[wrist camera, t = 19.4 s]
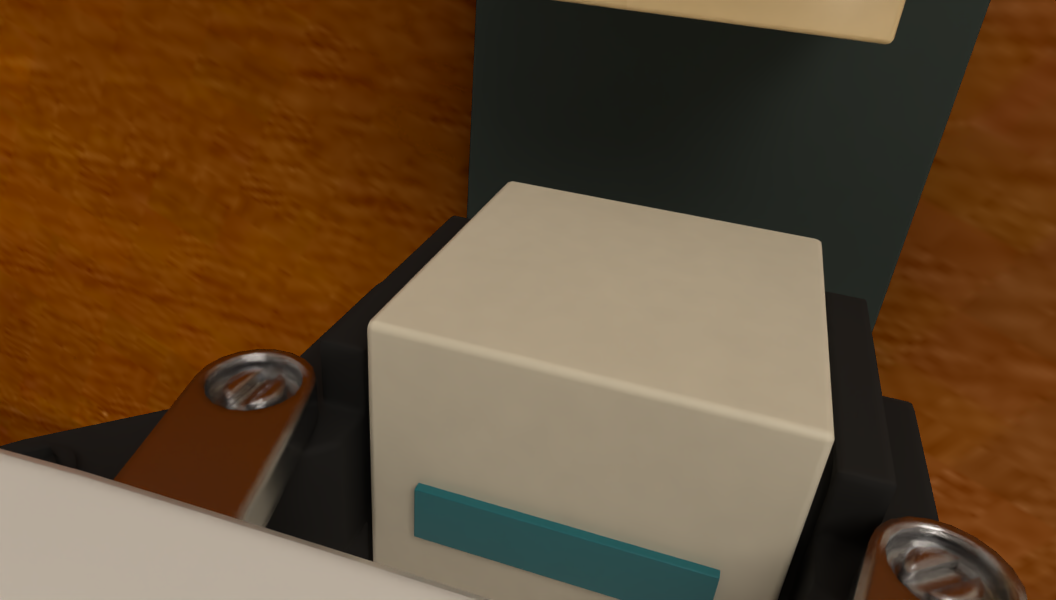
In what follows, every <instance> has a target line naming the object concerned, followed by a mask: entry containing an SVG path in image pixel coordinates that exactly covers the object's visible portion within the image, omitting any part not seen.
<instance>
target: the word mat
mask: <svg viewBox="0 0 1056 600" xmlns="http://www.w3.org/2000/svg"><path fill="white" fill-rule="evenodd" d="M989 3H990V0H906V1H905V5H904V8H903V11H902V14H901V18H900V21H899V24H898V28H897V31H896V34H895V37H894V40H893V41H892V42H891V43H889V44H878V43H870V42H863V41H855V40H848V39H840V38H833V37H825V36H818V35H810V34H803V33H795V32H788V31H780V30H773V29H765V28H758V27H750V26H743V25H735V24H728V23H720V22H713V21H705V20H698V19H690V18H683V17H675V16H668V15H660V14H653V13H645V12H638V11H630V10H623V9H615V8H608V7H600V6H593V5H585V4H578V3H570V2H563V1H555V0H476V23H475V46H474V69H473V91H472V114H471V137H470V160H469V182H468V205H467V218H469V219H472V218H473V217H474V216H475V215H476V214H477V213H478V212H479V211H480V210H481V209H482V208H483V207H484V206H485V205H486V204H487V203H488V202H489V201H490V200H491V199H492V198H493V197H494V196H495V195H496V194H497V193H498V192H499V191H500V190H501V189H502V188H503V187H504V186H505V185H506V184H507V183H508V182H512V181H514V182H519V183H524V184H529V185H535V186H540V187H545V188H551V189H556V190H561V191H566V192H572V193H577V194H582V195H587V196H593V197H598V198H603V199H608V200H614V201H619V202H624V203H629V204H635V205H640V206H645V207H651V208H656V209H661V210H666V211H672V212H677V213H682V214H687V215H693V216H698V217H703V218H708V219H714V220H719V221H724V222H729V223H735V224H740V225H745V226H751V227H756V228H761V229H766V230H772V231H777V232H782V233H787V234H793V235H798V236H803V237H808V238H814V239H817V240H819V241H820V242H821V245H822V256H823V272H824V287H825V291H826V292H831V293H836V294H841V295H846V296H851V297H856V298H860V299H865V300H866V302H867V307H868V313H869V319H870V325H871V331H873V328H874V325H875V322H876V320H877V317H878V314H879V311H880V308H881V306H882V303H883V300H884V297H885V294H886V292H887V289H888V286H889V283H890V280H891V278H892V275H893V272H894V269H895V266H896V264H897V261H898V258H899V255H900V252H901V250H902V247H903V244H904V241H905V238H906V236H907V233H908V230H909V227H910V224H911V222H912V219H913V216H914V213H915V210H916V207H917V205H918V202H919V199H920V196H921V193H922V191H923V188H924V185H925V182H926V179H927V177H928V174H929V171H930V168H931V165H932V163H933V160H934V157H935V154H936V151H937V149H938V146H939V143H940V140H941V137H942V135H943V132H944V129H945V126H946V123H947V121H948V118H949V115H950V112H951V109H952V107H953V104H954V101H955V98H956V95H957V93H958V90H959V87H960V84H961V81H962V79H963V76H964V73H965V70H966V67H967V65H968V62H969V59H970V56H971V53H972V51H973V48H974V45H975V42H976V39H977V37H978V34H979V31H980V28H981V25H982V23H983V20H984V17H985V14H986V11H987V8H988V6H989Z"/></svg>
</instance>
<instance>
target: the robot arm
mask: <svg viewBox="0 0 1056 600" xmlns="http://www.w3.org/2000/svg"><path fill="white" fill-rule="evenodd" d="M470 220H471V219H469V218H464V217H459V216H453V217H451V218H450V219H449V220H448V221H447V222H446V223H444V224H443V225H442V226H441V227H440V228H439V229H438V230H437V231H436V232H435V233H434V234H433V235H432V236H431V237H430V238H428V239H427V240H426V241H425V242H424V243H423V244H422V245H421V246H420V247H419V248H418V249H417V250H416V251H415V252H414V253H412V254H411V255H410V256H409V257H408V258H407V259H406V260H405V261H404V262H403V263H402V264H401V265H400V266H399V267H398V268H396V269H395V270H394V271H393V272H392V273H391V274H390V275H389V276H388V277H387V278H386V279H385V280H384V281H383V282H381V283H379V284H378V285H376V286H375V287H374V288H373V289H372V290H371V291H370V292H369V293H367V294H366V295H365V296H364V297H363V298H362V299H361V300H360V301H359V302H358V303H357V304H356V305H355V306H354V307H352V308H351V309H350V310H349V311H348V312H347V313H346V314H345V315H344V316H343V317H342V318H341V319H340V320H339V321H337V322H336V323H335V324H334V325H333V326H332V327H331V328H330V329H329V330H328V331H327V332H326V333H325V334H323V335H322V336H321V337H320V338H319V339H318V340H317V341H316V342H315V343H314V344H313V345H312V346H311V347H310V348H308V349H307V350H306V351H305V352H304V353H303V354H302V355H301V356H300V357H299V356H297V355H295V354H293V353H290V352H285V351H280V350H275V349H255V350H248V351H241V352H237V353H234V354H231V355H227V356H224V357H221V358H219V359H218V360H216V361H214V362H212V363H210V364H208V365H206V366H205V367H204V368H203V369H202V370H201V371H200V372H199V373H198V374H197V375H196V376H195V377H194V378H193V379H192V381H191V382H190V383H189V384H188V386H187V387H186V388H185V390H184V391H183V392H182V393H181V395H180V396H179V397H178V398H177V400H176V401H175V402H174V404H173V405H172V406H171V407H170V409H168V410H163V411H158V412H153V413H149V414H144V415H139V416H134V417H129V418H125V419H120V420H115V421H110V422H106V423H101V424H96V425H91V426H87V427H82V428H77V429H72V430H68V431H63V432H58V433H53V434H48V435H44V436H39V437H34V438H29V439H25V440H21V441H17V442H14V443H10V444H7V445H3V446H0V600H492V599H489V598H485V597H482V596H479V595H476V594H473V593H470V592H467V591H464V590H460V589H457V588H454V587H451V586H448V585H445V584H442V583H439V582H435V581H432V580H429V579H426V578H423V577H420V576H417V575H413V574H410V573H407V572H404V571H401V570H398V569H395V568H391V567H388V566H385V565H382V564H379V563H376V562H373V534H372V495H371V456H370V416H369V377H368V338H367V328H368V324H369V322H370V320H371V319H372V318H373V317H374V316H375V315H376V314H377V313H378V312H379V311H380V310H381V309H382V308H383V307H384V306H385V305H386V304H387V303H388V302H389V301H390V300H391V299H392V298H393V297H394V296H395V295H396V294H397V293H398V292H399V291H400V290H401V289H402V288H403V287H404V286H405V285H406V284H407V283H408V282H409V281H410V280H411V279H412V278H413V277H414V276H415V275H416V274H417V273H418V272H419V271H420V270H421V269H422V268H423V267H424V266H425V265H426V264H427V263H428V262H429V261H430V260H431V259H432V258H433V257H434V256H435V255H436V254H437V253H438V252H439V251H440V250H441V249H442V248H443V247H444V246H445V245H446V244H447V243H448V242H449V241H450V240H451V239H452V238H453V237H454V236H455V235H456V234H457V233H458V232H459V231H460V230H461V229H462V228H463V227H464V226H465V225H466V224H467V223H468V222H469V221H470ZM825 302H826V317H827V332H828V347H829V362H830V378H831V393H832V408H833V423H834V438H835V440H834V443H833V445H832V448H831V451H830V454H829V457H828V459H827V462H826V465H825V468H824V471H823V473H822V476H821V479H820V482H819V485H818V487H817V490H816V493H815V496H814V499H813V502H812V504H811V507H810V510H809V513H808V516H807V518H806V521H805V524H804V527H803V530H802V532H801V535H800V538H799V541H798V544H797V546H796V549H795V552H794V555H793V558H792V560H791V563H790V566H789V569H788V572H787V575H786V577H785V580H784V583H783V586H782V589H781V591H780V594H779V597H778V600H1027V596H1026V592H1025V587H1024V586H1023V584H1022V583H1021V581H1020V579H1019V578H1018V576H1017V574H1016V573H1015V571H1014V570H1013V568H1012V567H1011V566H1010V565H1009V564H1008V563H1007V562H1006V561H1005V560H1004V559H1003V558H1002V557H1001V556H1000V555H999V554H998V553H997V552H996V551H994V550H993V549H991V548H990V547H989V546H987V545H986V544H984V543H983V542H982V541H980V540H979V539H977V538H976V537H974V536H972V535H970V534H968V533H966V532H964V531H962V530H960V529H958V528H956V527H954V526H952V525H949V524H945V523H942V522H939V519H938V515H937V510H936V506H935V501H934V497H933V492H932V488H931V483H930V479H929V474H928V470H927V465H926V461H925V456H924V452H923V447H922V443H921V438H920V434H919V429H918V425H917V420H916V416H915V411H914V408H913V406H912V404H911V403H909V402H906V401H902V400H898V399H893V398H889V397H885V396H882V392H881V386H880V380H879V374H878V368H877V362H876V356H875V350H874V343H873V337H872V331H871V325H870V319H869V313H868V307H867V302H866V300H865V299H860V298H856V297H851V296H846V295H841V294H836V293H831V292H826V291H825Z"/></svg>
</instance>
